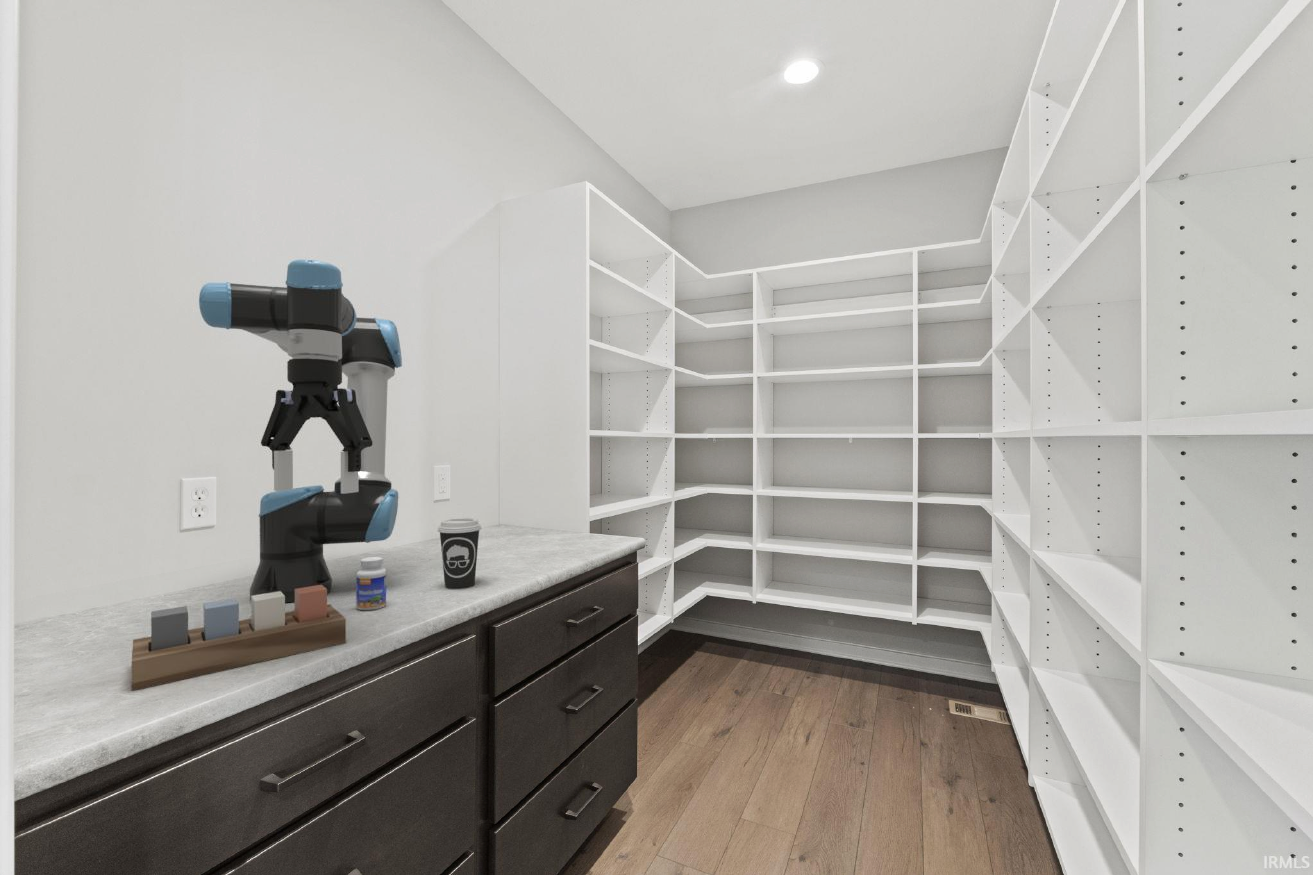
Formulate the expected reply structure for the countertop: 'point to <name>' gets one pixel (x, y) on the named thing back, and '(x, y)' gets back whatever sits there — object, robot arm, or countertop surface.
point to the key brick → (310, 603)
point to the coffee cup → (459, 551)
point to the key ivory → (267, 611)
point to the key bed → (233, 649)
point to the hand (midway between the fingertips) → (316, 491)
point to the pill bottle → (371, 584)
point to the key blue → (221, 619)
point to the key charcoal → (169, 628)
